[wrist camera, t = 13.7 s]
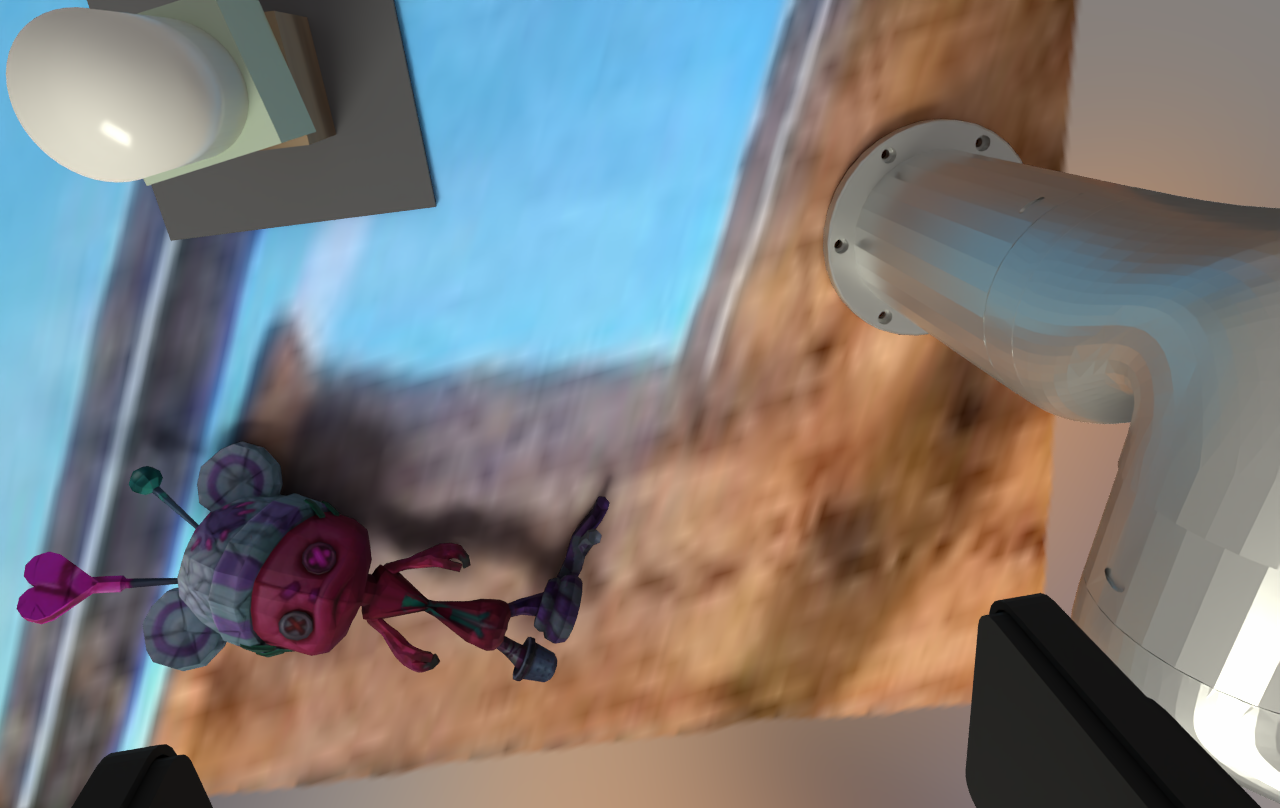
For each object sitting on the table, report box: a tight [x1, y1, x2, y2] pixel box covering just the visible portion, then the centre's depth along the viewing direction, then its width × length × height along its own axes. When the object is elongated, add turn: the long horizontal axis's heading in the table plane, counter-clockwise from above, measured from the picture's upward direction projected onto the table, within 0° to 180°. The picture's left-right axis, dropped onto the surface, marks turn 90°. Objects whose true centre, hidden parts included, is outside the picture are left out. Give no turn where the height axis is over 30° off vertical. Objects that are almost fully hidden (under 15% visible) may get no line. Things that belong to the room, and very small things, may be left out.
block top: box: [138, 0, 316, 186], centre depth 32 cm, size 6×6×6 cm
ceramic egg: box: [6, 7, 249, 182], centre depth 27 cm, size 5×5×6 cm
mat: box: [87, 0, 436, 241], centre depth 40 cm, size 14×14×1 cm
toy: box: [17, 441, 609, 682], centre depth 47 cm, size 16×9×30 cm
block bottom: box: [258, 11, 336, 151], centre depth 37 cm, size 6×6×6 cm
